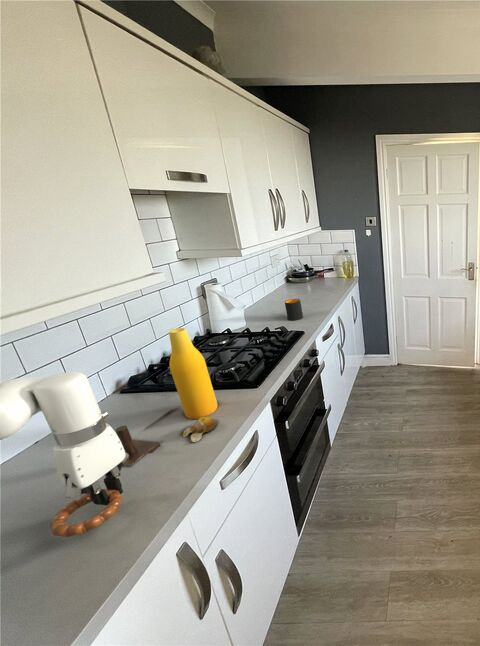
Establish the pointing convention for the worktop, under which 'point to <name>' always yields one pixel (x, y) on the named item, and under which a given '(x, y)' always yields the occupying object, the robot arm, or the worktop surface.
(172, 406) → the worktop surface
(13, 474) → the worktop surface
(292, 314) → the mug
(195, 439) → the fruit
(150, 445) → the brown peg stand
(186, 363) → the beer bottle
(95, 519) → the ring
